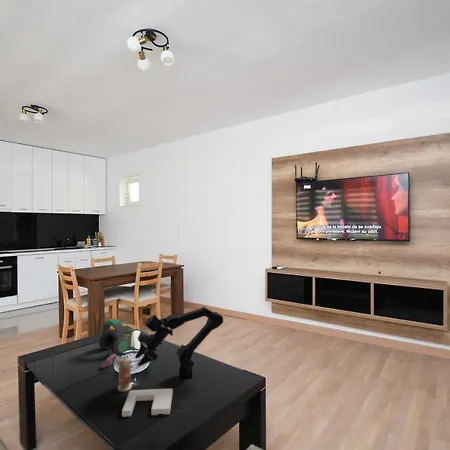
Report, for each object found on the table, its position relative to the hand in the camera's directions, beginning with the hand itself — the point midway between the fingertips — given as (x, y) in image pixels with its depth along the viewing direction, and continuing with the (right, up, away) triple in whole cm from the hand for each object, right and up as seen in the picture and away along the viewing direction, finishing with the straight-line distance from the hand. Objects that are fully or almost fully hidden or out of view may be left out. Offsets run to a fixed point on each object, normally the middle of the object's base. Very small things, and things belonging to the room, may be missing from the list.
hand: (136, 361), depth 161 cm
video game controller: (-22, -12, +23) cm, 34 cm away
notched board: (+10, -13, -16) cm, 22 cm away
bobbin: (-5, -12, -2) cm, 13 cm away
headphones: (-26, -11, +41) cm, 50 cm away
